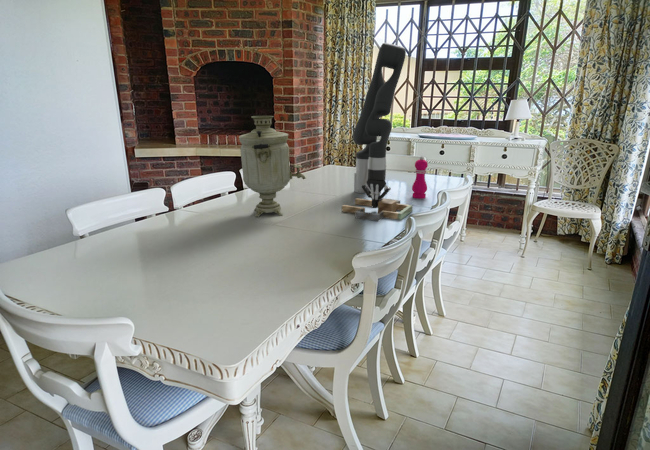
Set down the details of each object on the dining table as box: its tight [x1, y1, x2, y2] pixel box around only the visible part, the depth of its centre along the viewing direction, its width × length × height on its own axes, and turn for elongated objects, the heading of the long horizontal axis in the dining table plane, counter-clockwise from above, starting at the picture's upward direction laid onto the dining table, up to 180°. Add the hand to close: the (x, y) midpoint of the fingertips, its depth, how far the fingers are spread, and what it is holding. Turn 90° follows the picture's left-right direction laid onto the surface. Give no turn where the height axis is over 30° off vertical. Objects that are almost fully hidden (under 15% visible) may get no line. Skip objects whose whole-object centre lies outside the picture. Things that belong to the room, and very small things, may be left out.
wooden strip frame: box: [341, 197, 413, 222], centre depth 182 cm, size 26×27×2 cm
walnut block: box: [377, 198, 397, 214], centre depth 180 cm, size 6×6×5 cm
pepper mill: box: [411, 155, 429, 200], centre depth 203 cm, size 7×7×20 cm
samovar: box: [238, 115, 307, 218], centre depth 173 cm, size 30×26×40 cm
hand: (375, 207), depth 182 cm, fingers closed
